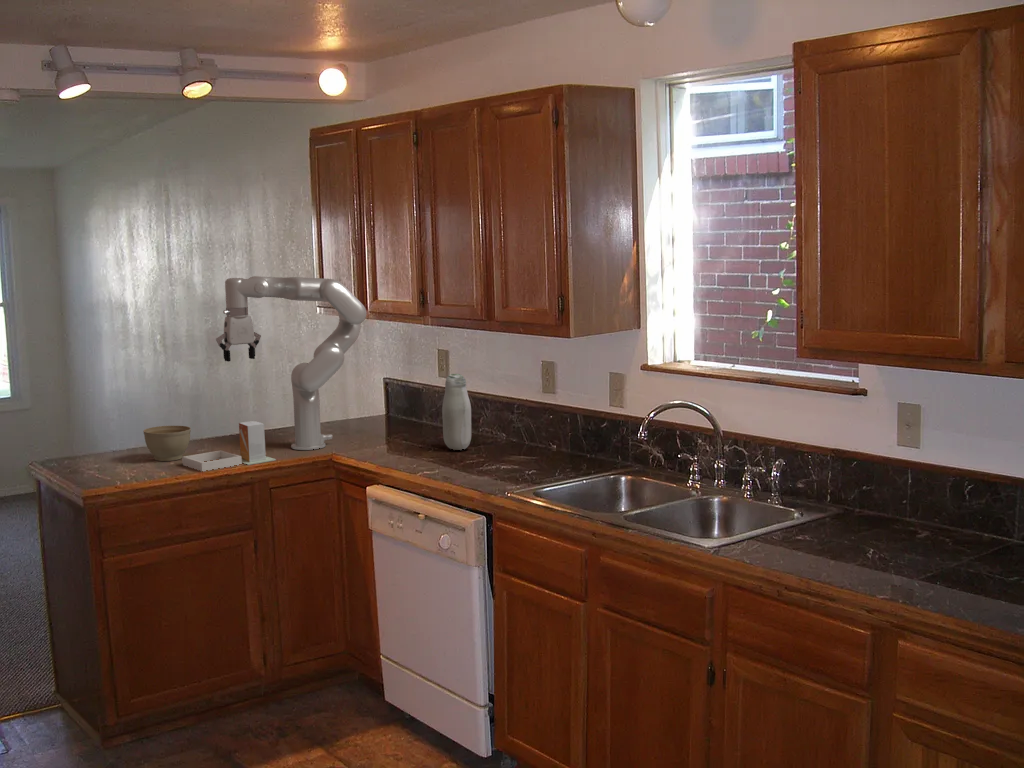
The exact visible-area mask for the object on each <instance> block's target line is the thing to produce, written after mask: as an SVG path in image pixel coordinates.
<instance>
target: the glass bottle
mask: <svg viewBox="0 0 1024 768" xmlns="http://www.w3.org/2000/svg"><path fill="white" fill-rule="evenodd" d="M444 386H445V387H444V396H443V400H442V405H441V406H442V408H441V413H442V414H441V415H442V416H441V417H442V433H443V434H442V436H443V441H444V445H445V446H446V447H447V448H448V449H450V450H451V449H453V450H452V451H455V450H460V451H463V450H462V449H464V450H466V449H467V448H468V447H469V446H470V444H471V440H472V406H471V405H472V404H471V400H470V397H469V394H468V389H467V381H466V378H465V376H464V375H462V374H460V373H451V374H449V375H447V376H446V379H445V384H444Z"/></svg>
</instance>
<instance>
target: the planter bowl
mask: <svg viewBox="0 0 1024 768" xmlns="http://www.w3.org/2000/svg"><path fill="white" fill-rule="evenodd" d="M191 432H192V429H191V426H185V425H160V426H159V425H158V426H153V427H148V428H145V429H143V435H144V442H145V445H146V447H147V449H148V451H149V452H150V453H151V454H152V455H153V457H154V460H155V461H158V462H170V461H178V460H181V459H182V457H184V456H183V455H184V453H185V451H187V448H188V446H189V444H190V440H191Z"/></svg>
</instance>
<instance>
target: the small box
mask: <svg viewBox="0 0 1024 768" xmlns="http://www.w3.org/2000/svg"><path fill="white" fill-rule="evenodd" d="M238 430H239V431H238V433H239V449H240V451H239V452H240V453H239V456H241V459H244V460H246V461H248V462H255V461H262V460H266V455H267V454H266V439H265V438H266V437H265V435H266V434H265V424H264V423H262V422H260V421H256V420H251V421H243V422H238Z"/></svg>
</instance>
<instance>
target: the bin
mask: <svg viewBox="0 0 1024 768" xmlns="http://www.w3.org/2000/svg"><path fill="white" fill-rule="evenodd" d="M181 459H182V460H181V461H182V466H185V467H187V466H188V467H187V468H190V469H193V468H194V469H193V470H196V469H197V470H196V471H199V470H200V471H199V472H202V471H203V472H207V471H206V470H208V471H213V470H212V469H214V470H219V469H218V468H220V469H225V468H224V467H226V468H231V467H235V466H234V465H237V466H240V465H239V464H242V459H241V455H240V454H235V453H232V452H228V451H225V450H216V451H210V452H209V451H208V452H203V453H198V454H197V453H196V454H190V455H186V456H185V455H184V456H183V457H182V458H181ZM216 459H219V460H216ZM210 460H213V461H210ZM204 461H207V462H204ZM242 465H243V464H242ZM230 466H231V467H230Z"/></svg>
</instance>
